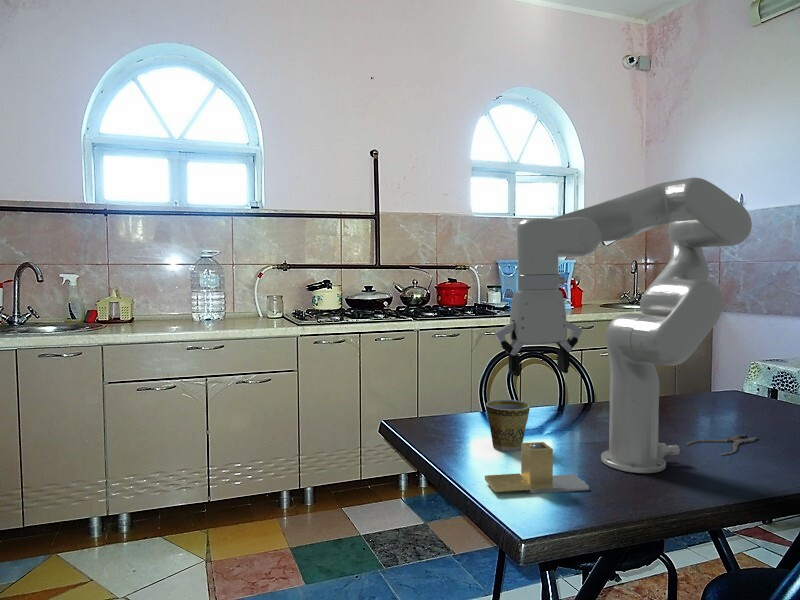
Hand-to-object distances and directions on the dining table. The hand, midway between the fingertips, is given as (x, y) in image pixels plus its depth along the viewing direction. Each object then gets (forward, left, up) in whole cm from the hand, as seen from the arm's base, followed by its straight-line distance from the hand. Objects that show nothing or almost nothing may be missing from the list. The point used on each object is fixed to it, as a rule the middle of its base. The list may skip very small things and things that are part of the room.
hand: (539, 373), depth 107 cm
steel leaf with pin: (-2, +3, -21) cm, 21 cm away
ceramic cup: (-2, -22, -21) cm, 31 cm away
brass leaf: (+5, +3, -20) cm, 21 cm away
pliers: (-52, -16, -22) cm, 59 cm away
